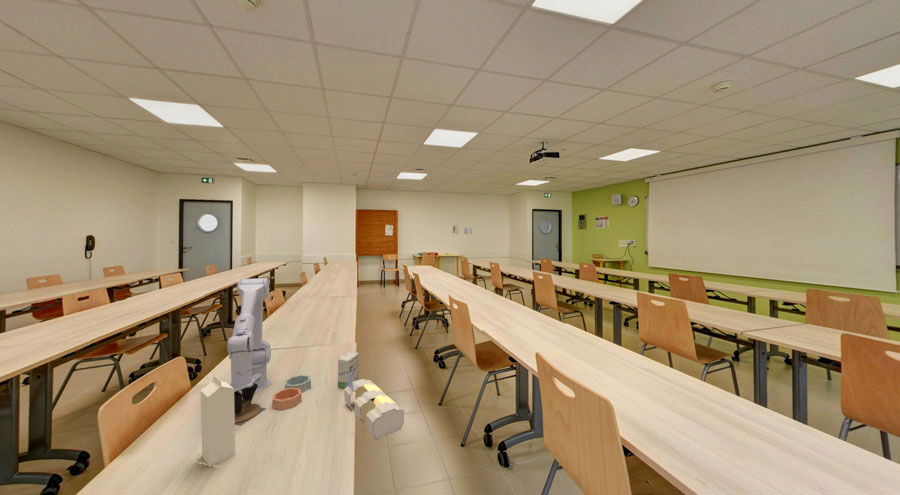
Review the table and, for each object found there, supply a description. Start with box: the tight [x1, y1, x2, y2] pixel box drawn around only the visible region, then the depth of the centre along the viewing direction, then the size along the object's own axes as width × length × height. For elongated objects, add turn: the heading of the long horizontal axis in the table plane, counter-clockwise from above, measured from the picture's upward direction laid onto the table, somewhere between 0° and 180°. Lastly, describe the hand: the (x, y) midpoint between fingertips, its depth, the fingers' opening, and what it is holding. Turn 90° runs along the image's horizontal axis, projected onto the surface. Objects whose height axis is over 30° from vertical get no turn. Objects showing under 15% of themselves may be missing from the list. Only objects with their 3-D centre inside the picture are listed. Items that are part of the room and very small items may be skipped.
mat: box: [235, 406, 268, 427], centre depth 104 cm, size 10×10×1 cm
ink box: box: [337, 351, 360, 389], centre depth 126 cm, size 9×5×12 cm, turn 168°
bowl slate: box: [284, 374, 312, 394], centre depth 122 cm, size 9×9×4 cm
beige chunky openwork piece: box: [343, 372, 405, 441], centre depth 104 cm, size 25×10×13 cm, turn 38°
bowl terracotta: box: [272, 388, 302, 411], centre depth 111 cm, size 9×9×4 cm
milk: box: [200, 374, 236, 468], centre depth 84 cm, size 6×6×22 cm
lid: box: [235, 398, 261, 424], centre depth 104 cm, size 10×10×4 cm
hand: (242, 409), depth 104 cm, fingers open, 3 cm apart
